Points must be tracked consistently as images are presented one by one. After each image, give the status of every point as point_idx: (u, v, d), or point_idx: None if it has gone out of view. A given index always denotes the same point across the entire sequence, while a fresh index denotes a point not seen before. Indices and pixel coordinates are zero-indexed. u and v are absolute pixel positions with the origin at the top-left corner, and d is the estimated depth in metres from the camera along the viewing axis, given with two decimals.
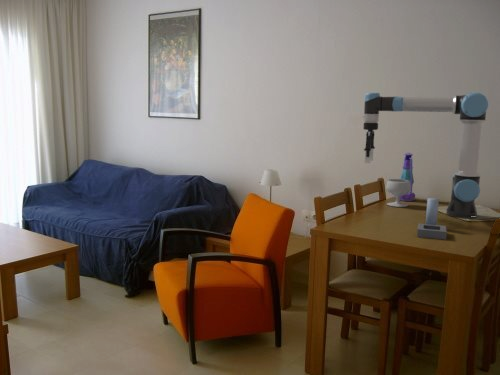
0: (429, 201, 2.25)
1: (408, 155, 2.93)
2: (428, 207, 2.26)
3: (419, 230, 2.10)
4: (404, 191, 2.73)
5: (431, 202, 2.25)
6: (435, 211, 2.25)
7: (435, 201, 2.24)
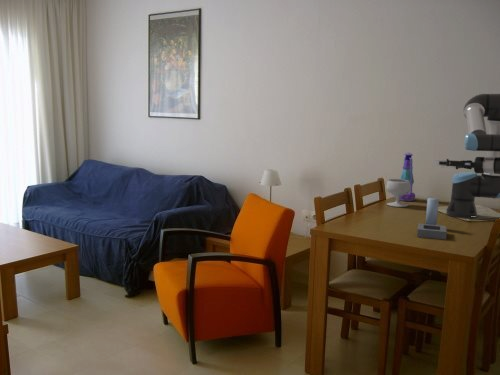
0: (429, 201, 2.25)
1: (408, 155, 2.93)
2: (428, 207, 2.26)
3: (419, 230, 2.10)
4: (404, 191, 2.73)
5: (431, 202, 2.25)
6: (435, 211, 2.25)
7: (435, 201, 2.24)
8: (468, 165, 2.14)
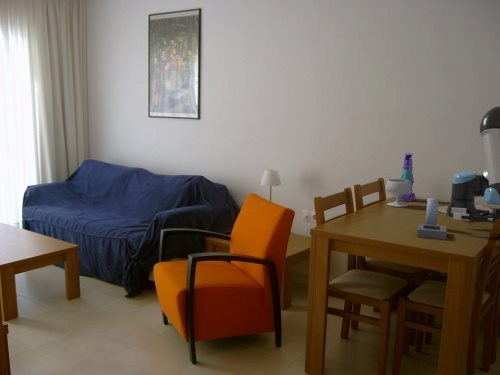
0: (429, 201, 2.25)
1: (408, 155, 2.93)
2: (428, 207, 2.26)
3: (419, 230, 2.10)
4: (404, 191, 2.73)
5: (431, 202, 2.25)
6: (435, 211, 2.25)
7: (435, 201, 2.24)
8: (491, 220, 2.13)
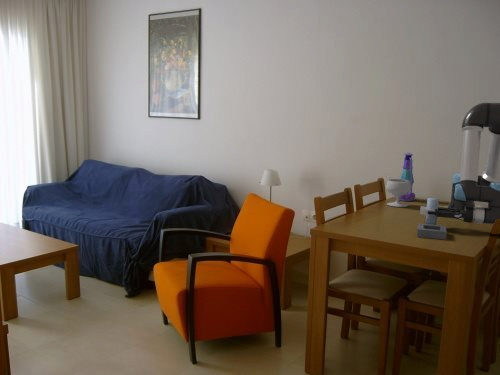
0: (429, 201, 2.25)
1: (408, 155, 2.93)
2: (428, 207, 2.26)
3: (419, 230, 2.10)
4: (404, 191, 2.73)
5: (431, 202, 2.25)
6: None
7: (435, 201, 2.24)
8: (457, 217, 2.18)
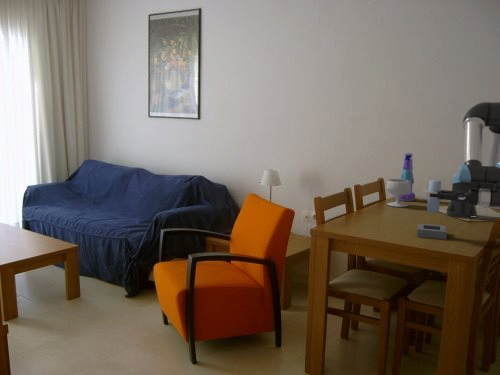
0: (431, 183, 2.11)
1: (408, 155, 2.93)
2: (430, 189, 2.12)
3: (419, 230, 2.10)
4: (404, 191, 2.73)
5: (433, 184, 2.10)
6: None
7: (438, 183, 2.10)
8: (462, 200, 2.03)
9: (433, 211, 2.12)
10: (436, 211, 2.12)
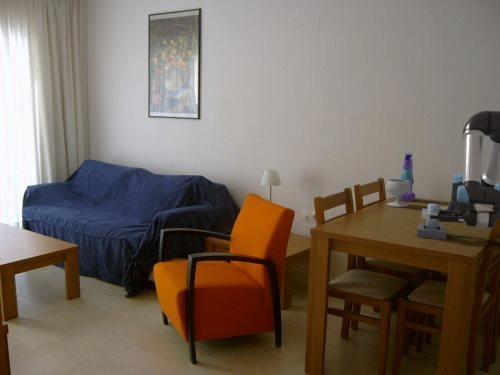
0: (429, 207, 2.11)
1: (408, 155, 2.93)
2: None
3: (419, 230, 2.10)
4: (404, 191, 2.73)
5: (432, 208, 2.11)
6: None
7: (436, 207, 2.10)
8: (462, 221, 2.03)
9: None
10: None
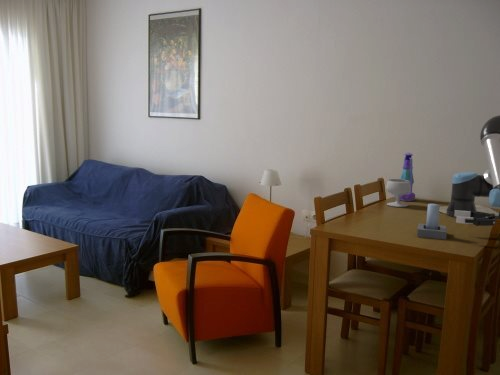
0: (429, 207, 2.11)
1: (408, 155, 2.93)
2: (428, 213, 2.12)
3: (419, 230, 2.10)
4: (404, 191, 2.73)
5: (432, 208, 2.11)
6: (436, 218, 2.11)
7: (436, 207, 2.10)
8: None
9: None
10: None
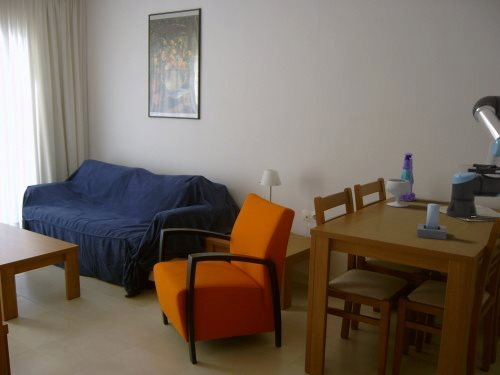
0: (429, 207, 2.11)
1: (408, 155, 2.93)
2: (428, 213, 2.12)
3: (419, 230, 2.10)
4: (404, 191, 2.73)
5: (432, 208, 2.11)
6: (436, 218, 2.11)
7: (436, 207, 2.10)
8: (499, 173, 2.05)
9: None
10: None
